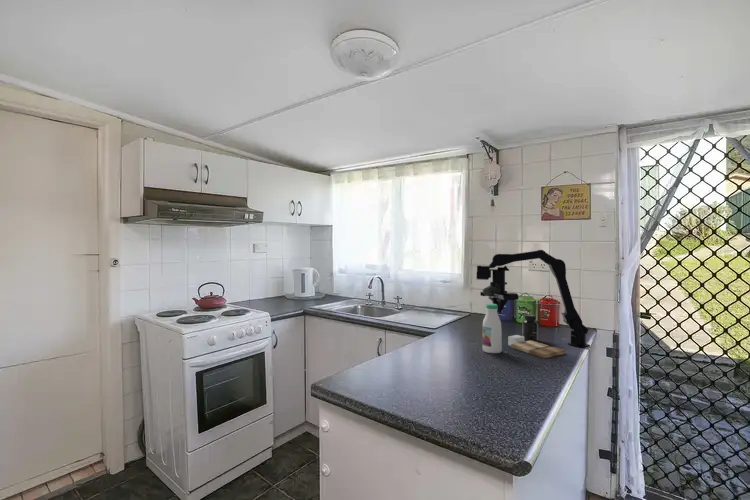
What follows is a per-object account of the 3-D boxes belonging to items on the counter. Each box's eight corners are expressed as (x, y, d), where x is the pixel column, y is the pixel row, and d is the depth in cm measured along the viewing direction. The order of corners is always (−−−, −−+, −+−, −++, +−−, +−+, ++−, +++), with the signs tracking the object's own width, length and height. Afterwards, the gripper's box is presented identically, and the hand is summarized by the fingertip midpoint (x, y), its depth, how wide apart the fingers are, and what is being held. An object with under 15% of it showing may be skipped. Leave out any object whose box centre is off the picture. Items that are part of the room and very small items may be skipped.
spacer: (516, 343, 163) (516, 334, 163) (524, 345, 160) (524, 336, 160) (508, 345, 160) (508, 336, 160) (515, 347, 156) (515, 338, 156)
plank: (531, 343, 161) (531, 340, 161) (548, 349, 153) (548, 345, 153) (511, 347, 155) (511, 343, 155) (528, 353, 147) (528, 349, 147)
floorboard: (550, 349, 152) (550, 346, 152) (565, 353, 146) (565, 350, 146) (529, 353, 146) (529, 350, 146) (544, 358, 140) (544, 354, 140)
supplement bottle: (535, 343, 163) (535, 317, 163) (520, 341, 167) (520, 315, 167) (539, 340, 168) (539, 315, 168) (524, 338, 172) (524, 313, 172)
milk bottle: (499, 348, 154) (498, 303, 154) (503, 354, 146) (503, 305, 146) (480, 348, 154) (480, 302, 154) (484, 353, 147) (484, 305, 147)
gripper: (472, 279, 173) (472, 311, 173) (502, 282, 157) (501, 317, 157) (488, 278, 178) (488, 309, 178) (519, 281, 162) (519, 315, 162)
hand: (498, 312), depth 169 cm, fingers closed
